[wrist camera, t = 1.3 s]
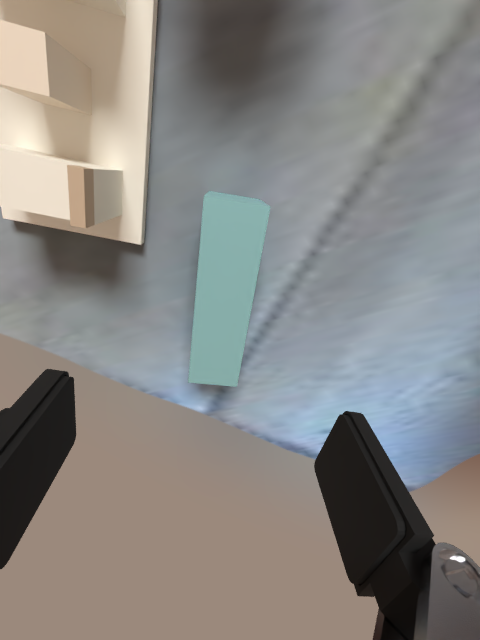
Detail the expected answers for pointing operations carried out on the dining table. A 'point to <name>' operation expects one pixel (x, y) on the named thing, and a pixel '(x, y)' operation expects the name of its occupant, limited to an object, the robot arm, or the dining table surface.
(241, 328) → the teal bar
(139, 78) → the stand
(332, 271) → the dining table surface
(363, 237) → the dining table surface
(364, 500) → the robot arm
